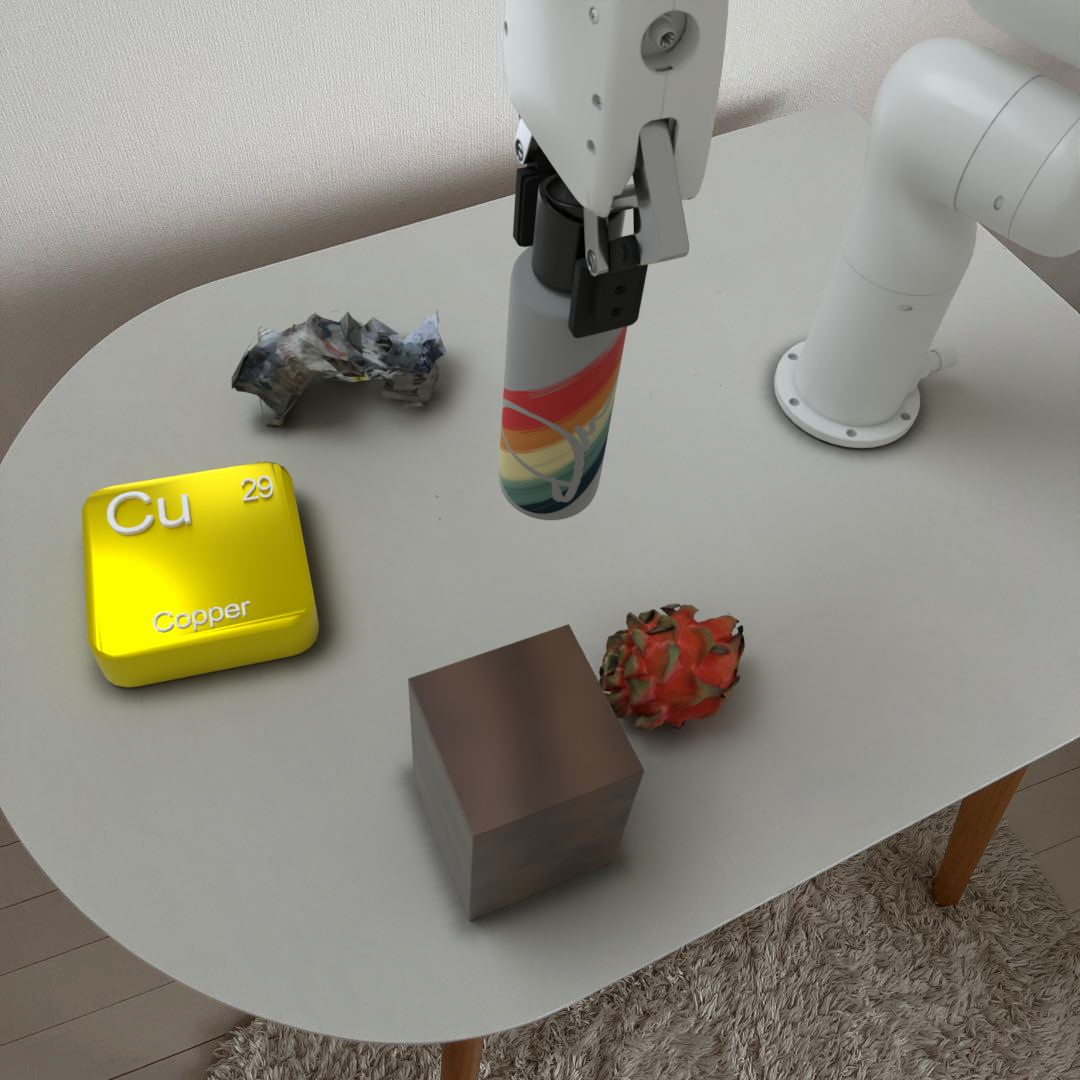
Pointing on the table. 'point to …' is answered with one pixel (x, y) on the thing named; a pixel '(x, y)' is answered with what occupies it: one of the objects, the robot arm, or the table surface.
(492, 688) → the block
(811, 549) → the table surface
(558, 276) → the lotion bottle
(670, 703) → the dragon fruit
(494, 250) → the table surface
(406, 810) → the table surface
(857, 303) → the robot arm
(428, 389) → the foil
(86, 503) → the element tile
